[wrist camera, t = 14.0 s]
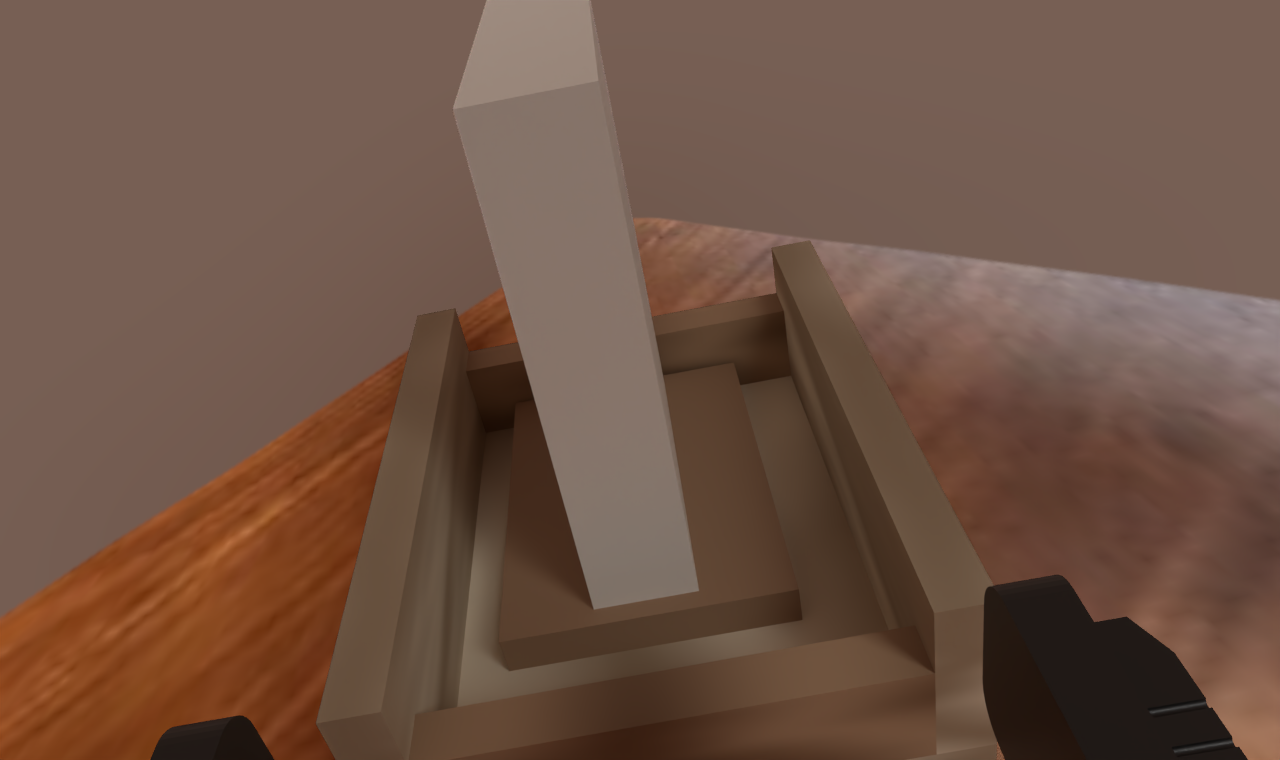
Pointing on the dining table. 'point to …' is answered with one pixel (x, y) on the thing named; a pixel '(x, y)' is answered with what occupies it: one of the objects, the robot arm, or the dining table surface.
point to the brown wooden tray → (692, 669)
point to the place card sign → (602, 379)
